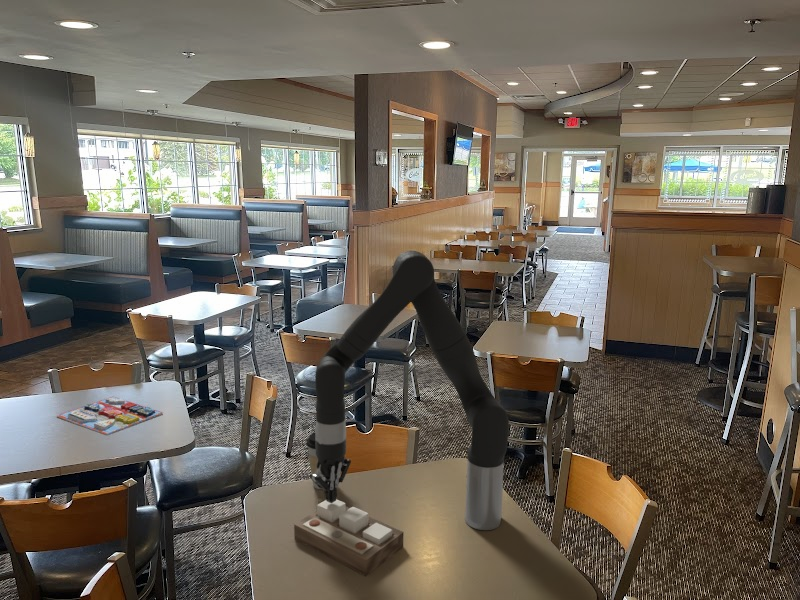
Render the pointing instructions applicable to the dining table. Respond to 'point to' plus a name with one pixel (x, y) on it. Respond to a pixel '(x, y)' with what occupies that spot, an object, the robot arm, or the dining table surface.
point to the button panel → (347, 543)
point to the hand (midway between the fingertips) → (331, 501)
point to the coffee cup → (312, 455)
